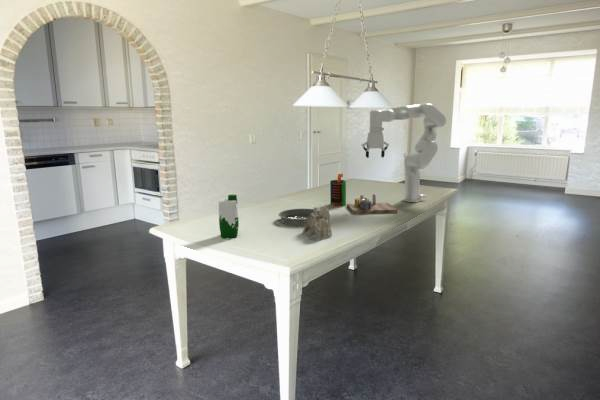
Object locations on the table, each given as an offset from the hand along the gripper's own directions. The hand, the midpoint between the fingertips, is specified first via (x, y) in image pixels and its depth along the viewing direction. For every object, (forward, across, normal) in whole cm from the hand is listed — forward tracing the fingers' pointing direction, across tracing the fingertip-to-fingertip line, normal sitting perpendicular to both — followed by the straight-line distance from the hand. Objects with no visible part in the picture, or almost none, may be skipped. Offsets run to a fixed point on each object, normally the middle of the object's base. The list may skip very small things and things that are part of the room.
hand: (375, 157), depth 260 cm
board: (+30, +6, +16) cm, 35 cm away
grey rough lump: (+31, +47, +65) cm, 86 cm away
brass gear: (+28, +11, +12) cm, 33 cm away
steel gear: (+28, +11, +21) cm, 37 cm away
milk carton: (+31, +88, +62) cm, 112 cm away
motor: (+31, +23, -2) cm, 38 cm away
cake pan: (+31, +51, +37) cm, 70 cm away
